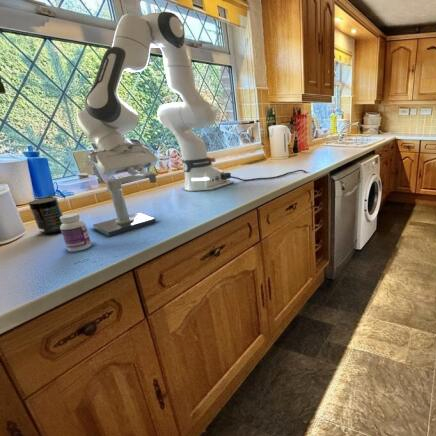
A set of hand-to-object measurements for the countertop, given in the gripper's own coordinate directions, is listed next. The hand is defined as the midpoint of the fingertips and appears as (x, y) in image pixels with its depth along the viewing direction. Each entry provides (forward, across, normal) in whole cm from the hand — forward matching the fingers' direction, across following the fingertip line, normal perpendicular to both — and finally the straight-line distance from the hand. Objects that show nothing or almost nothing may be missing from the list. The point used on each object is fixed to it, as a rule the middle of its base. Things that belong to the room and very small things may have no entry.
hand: (143, 177), depth 106 cm
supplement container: (-2, -22, +22) cm, 31 cm away
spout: (+3, -5, 0) cm, 6 cm away
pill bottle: (+14, -28, +6) cm, 32 cm away
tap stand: (+11, -12, +9) cm, 18 cm away
